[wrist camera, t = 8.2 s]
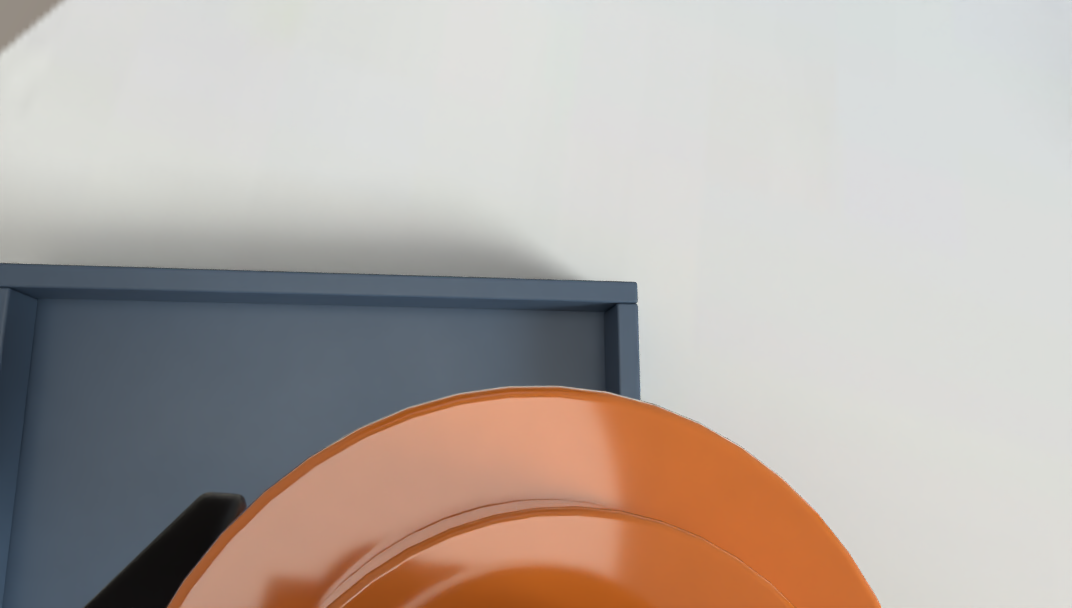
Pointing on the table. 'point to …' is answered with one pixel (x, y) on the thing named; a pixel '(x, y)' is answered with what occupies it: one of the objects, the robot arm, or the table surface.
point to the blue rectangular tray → (242, 388)
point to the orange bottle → (528, 516)
